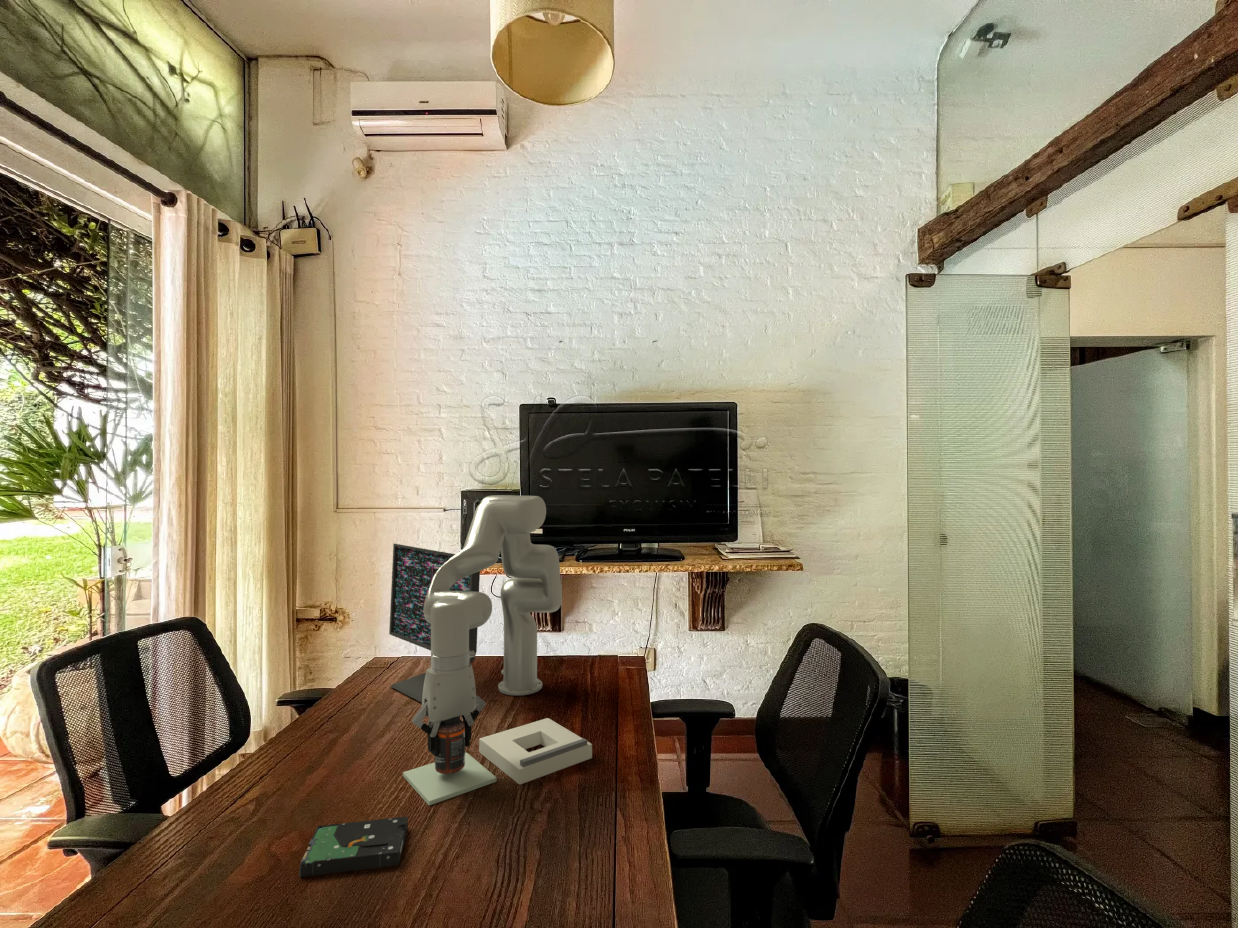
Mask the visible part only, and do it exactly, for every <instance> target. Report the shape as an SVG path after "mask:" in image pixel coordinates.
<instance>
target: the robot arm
mask: <svg viewBox="0 0 1238 928" xmlns="http://www.w3.org/2000/svg"><path fill="white" fill-rule="evenodd" d="M546 515H547V507H546V503H545V501H544V499H543V498H542V497H541V496H538V495H514V494H513V495H509V494H506V495H502V494H501V495H499V494H498V495H497V494H496V495H495V494H494V495H487V496H485V497H483V498H482V499H481V501H480V503H479V504H478V505H477V507H476V508H475V512H474V513H473V517H472V520H471V522H470V526H469V530H468V532H467V535H466V538H465V541H464V544H463V548H462V549H461V550H460V551H458V552H456V553H454V554H455V555H454V556H453V557H451V558H450V559H449V560H448V561H447V562H445V563H444V564H443V565H442V566H441V567H440V568H439V569H438V571H437V572H436V573H435V575H434V577H433V579H432V581H431V584H430V587H429V589H428V592H427V595H426V599H425V603H424V617H425V619H426V621H427V622H428V623H430V624H431V651H430V667H429V668H427V669H426V671H425V673H426V675H425V680H424V687H423V696H422V703H421V707H420V708H419V709H418V711H417V712H416V714H415V715H414V716H413V717H412V719H411V723H412V724H414V726H416V727H417V728H419V729H420V730H422V732H424V733H425V734H427V749H428V752H430V753H431V755H433V756H434V758H435V757H436V756H438V755H439V736H438V735H437V731H438V728H439V725H440V722H441V721H444V720H448V719H450V718H453V717H459V716H460V718H461V719H462V721H463V722H464V724H465V748H468V747H470V745H471V743H470V742H471V740H472V726H473V725H474V724H475V720H476V719H477V718H478V717H479V715H480V713H481V712H482V710H483V709H484V707H485V706H486V705H487V704H486V701H484V699H482V698H481V697H480V696H479V695H477V693H476V692H477V691H476V690H477V689H476V681H475V675H474V670H473V666H472V663H469V662H470V658H471V657H474V656H475V657H476V655H475V652H474V650H472V651H470V650H469V629H473V628H477V627H478V628H479V627H482V626H483V625H485V624H486V623H487V622H488V621H489V619H490V617H491V616H492V612H493V603H492V599H491V598H490V597H489V595H488V594H486V593H484V592H481V591H479V592H473V591H449V589H450V588H451V587H452V585H453V584H455V583H456V582H457V581H459V580H460V579H462V578H464V577H466V576H468V575H471V574H473V573H476V572H479V571H480V572H481V571H483V570H486V569H488V568H490V567H492V566H494V565H495V564H496V563H497V562H498V560H499V557H500V555H501V557H500V558H501V563H502V570H503V572H504V574H505V575H506V576H507V577H509V578H510V579H507V580H506V581H505V582H503V584H502V586H500V587H501V588H500V601H501V607H502V615H503V669H501V672H500V673H501V675H503V680H502V681H500V682H499V683H498V685H497V689H498V691H499V692H500V693H501V694H503V695H507V696H517V697H518V696H527V695H531V694H535V693H537V692H540V690H541V689H543V682H542V681H541V679H539V678H538V625H537V622H536V620H535V618H534V617H533V616H532V614H531V613H554V612H556V611H558V610H559V609H560V608H561V605H562V599H563V596H562V594H563V592H562V579H561V570H560V569H561V567H560V559H559V553H558V551H557V549H556V548H555V546H552V545H551V544H534V543H532V540H531V533H533V532H534V531H536V530H538V529H539V528H540V527H542V525H544V522H545V520H546ZM425 717H426V718H427V717H428V720H427V723H425V722H424V721H423V720H424V718H425Z"/></svg>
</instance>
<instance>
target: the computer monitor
mask: <svg viewBox="0 0 1238 928" xmlns="http://www.w3.org/2000/svg"><path fill="white" fill-rule="evenodd" d="M392 547H393V551H392V567H391V569H392V570H391V585H390V586H391V587H390V588H391V589H390V606H389V607H390V611H389V633H388V634H389V636H393V637H395V638H398V639H401V640H403V641H404V642H405V641H406V642H408V643H411V644H413V645H416V646H418V647H421V648H424V649H426V650H427V651H430V652H431V624H430V623H428V622H427V621H426V619H425V617H424V603H425V599H426V595H427V592H428V589H429V587H430V584H431V581H432V579H433V577H434V575H435V573H436V572H437V571H438V569H439V568H440V567H441V566H442V565H443V564H444V563H445V562H447V561H448V560H449V559H450V558H451V557H453V556H454V555H455V554H456V553H450V552H445V551H440V550H433V549H427V548H422V547H416V546H410V545H405V544H399V543H393V546H392ZM480 573H481V571H479V572H476V573H473V574H471V575H468V576H466V577H464V578H462V579H460V580H459V581H457V582H456V583H455V584H453V585H452V587H451V588H450V589H449V591H473V592H480V579H481V578H480V575H481V574H480ZM478 628H479V627H477V628H473V629H469V650H470V651H472V650H474V652H475V656H474V657H471V658H470V662H469V663H470V664H472V663H473V662H474V661H475V658H476V654H477V651H478ZM425 675H426V672H423V673H421V674H418V675H417V674H416V675H415V676H413V677H409V678H406V679H404V680H401V681H398V682H394V683H393V684H391V685H389V687H390V688H393V689H394V690H397V691H398V692H400V693H402V694H404V695H406V696H408V697H410V698H411V699H413V698H414V700H415V699H416V701H418V702H420V703H421V704H422V696H423V687H424V680H425Z"/></svg>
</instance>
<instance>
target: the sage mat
mask: <svg viewBox="0 0 1238 928" xmlns="http://www.w3.org/2000/svg"><path fill="white" fill-rule="evenodd" d="M402 777H403V778H404V779H405V780H406V781H407V783H409V785H410V786H411V787H412V788H413V789H414V790H415V792H416V793H417V794H418V795H419V796H420V797H421V798H422V800H423V801H424V802H425V803H426V804H427V805H428V806H432V805H435V804H438V803H441V802H443V801H446V800H448V799H452V798H455V797H457V796H460V795H463V794H466V793H468V792H472V791H474V790H476V789H479V788H482V787H485V786H488V785H490V784H494V783H496V782H498V781H497V780H498V779H497V776H496V775H494V774H493V773H492V772H491V771H489V769H487V768H486V767H485V766H484V765H482V764H481V763H480V762H479V761H478V760H476V759H475V758H474V757H473V756H471V754H470V753H468V752H466V751H465V766H464V767H463V769H461V770H460V771H458V772H456V773H453V774H441V773H438V772H437V771H436V769H435V761H434V762H431V763H429V764H425V765H422V766H419V767H415V768H413V769H410V770H406V771H403V772H402Z"/></svg>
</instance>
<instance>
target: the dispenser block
mask: <svg viewBox="0 0 1238 928" xmlns="http://www.w3.org/2000/svg"><path fill="white" fill-rule="evenodd" d="M540 745H541V746H543V747H541V748H538V749H536V750H531V751H527V749H529V748H530V749H531V748H534V747H536V746H540ZM478 752H479V753H480V755H482V756H484V757H485V758H486V759H487V760H488V761H489V762H491V763H492V764H493V765H494V766H496V767H497V768H498V769H500V771H502V772H503V773H505V774H506V775H507V776H508V777H510V778H511V779H512V780H513V781H514V782H515V783H516V784H518V785H522V784H525V783H528V782H531V781H534V780H536V779H539V778H541V777H544V776H547V775H550V774H553V773H556V772H557V771H561V770H563V769H567V768H568V767H571V766H574V765H577V764H579V763H583V762H585V761H587V760H590V759H593V744H592V743H591V742H589V741H588V739H586V738H583V737H581V736H579V735H577V734H576V733H574V732H573V731H571V730H570V729H567V728H566V727H564V726H562V725H560V724H559V723H557V722H556V721H554V720H552V719H551V718H548V717H546V718H543V719H540V720H536V721H533V722H530V723H527V724H523V725H520V726H519V725H518V726H517V727H513V728H510V729H506V730H502V731H500V732H497V733H493V734H490V735H487V736H483V737H480V738H479V741H478Z"/></svg>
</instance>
